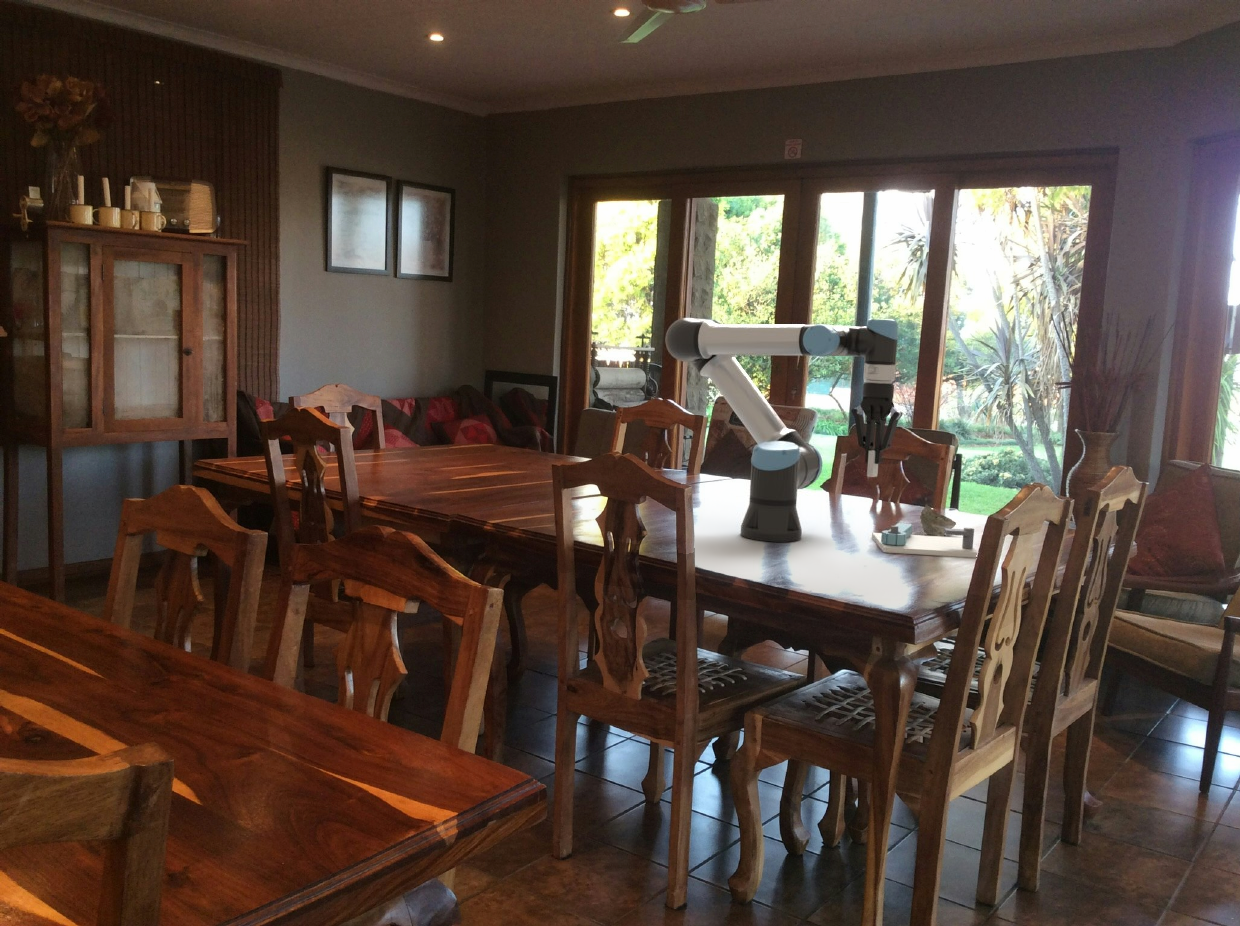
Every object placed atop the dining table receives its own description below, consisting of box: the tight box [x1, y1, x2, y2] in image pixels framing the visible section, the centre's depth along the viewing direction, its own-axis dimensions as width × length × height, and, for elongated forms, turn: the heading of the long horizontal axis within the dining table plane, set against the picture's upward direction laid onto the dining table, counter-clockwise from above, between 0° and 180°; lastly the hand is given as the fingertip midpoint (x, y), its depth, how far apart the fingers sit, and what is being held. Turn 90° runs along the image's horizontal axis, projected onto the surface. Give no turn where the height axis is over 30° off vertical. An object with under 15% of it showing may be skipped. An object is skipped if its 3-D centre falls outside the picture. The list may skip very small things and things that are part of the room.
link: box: [881, 522, 913, 545], centre depth 264 cm, size 18×6×2 cm, turn 155°
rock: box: [919, 503, 957, 537], centre depth 280 cm, size 11×6×10 cm
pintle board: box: [871, 525, 979, 559], centre depth 262 cm, size 22×19×6 cm
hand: (872, 476), depth 267 cm, fingers closed
